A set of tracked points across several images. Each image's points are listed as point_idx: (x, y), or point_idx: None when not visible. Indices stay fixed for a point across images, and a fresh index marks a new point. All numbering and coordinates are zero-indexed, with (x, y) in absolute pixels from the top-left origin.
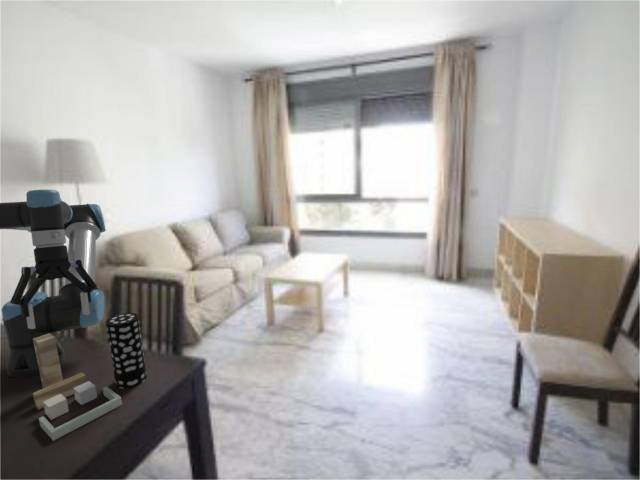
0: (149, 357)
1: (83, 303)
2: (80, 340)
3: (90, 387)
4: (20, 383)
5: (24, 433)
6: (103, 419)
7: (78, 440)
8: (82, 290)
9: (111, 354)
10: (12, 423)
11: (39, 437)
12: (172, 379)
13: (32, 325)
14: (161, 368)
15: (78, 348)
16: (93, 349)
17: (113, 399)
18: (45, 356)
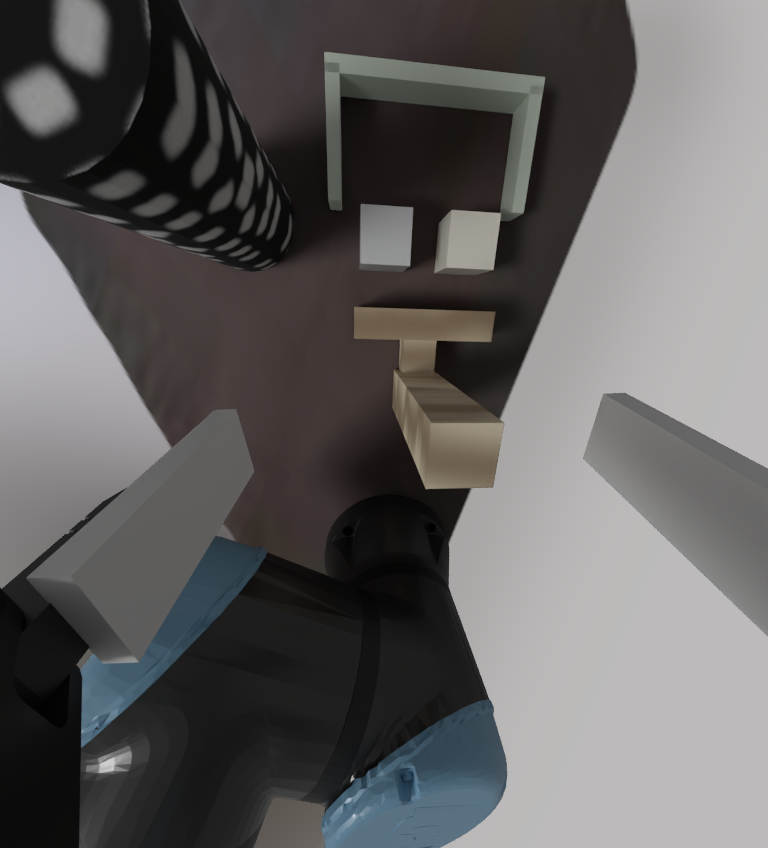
0: (136, 321)
1: (198, 505)
2: None
3: (375, 209)
4: None
5: (539, 232)
6: (400, 58)
7: (491, 18)
8: (73, 688)
9: (259, 175)
10: (530, 312)
11: (532, 169)
12: None
13: (640, 404)
14: None
15: (286, 554)
16: (259, 519)
17: (348, 68)
18: (458, 399)
